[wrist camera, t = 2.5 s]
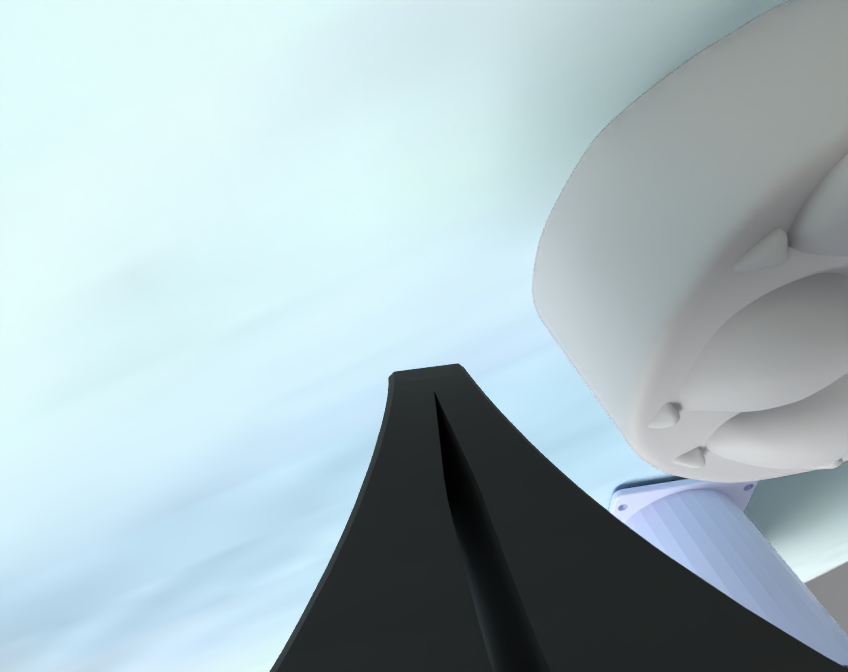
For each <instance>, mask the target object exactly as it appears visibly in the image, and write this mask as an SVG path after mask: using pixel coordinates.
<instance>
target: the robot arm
mask: <svg viewBox="0 0 848 672" xmlns="http://www.w3.org/2000/svg"><path fill="white" fill-rule="evenodd" d="M758 482H759V480H757V481H749V482H735V483H725V482H711V481H703V480H694V479H684V480H678V481H671V482H665V483H658V484H652V485H645V486H639V487H633V488H626V489H621V490H618V491H616V492H615V493H614V494H613V496H612V499H611V503H610V507H609V511H608V510H606V509H605V508H604V507H603V506H601V505H600V504H599V503H598V502H596V501H595V500H594V499H593V498H591V497H590V496H589V495H588V494H587V493H585V492H584V491H583V490H582V489H581V488H579V487H578V486H577V485H576V484H575V483H574V482H573V481H571V480H570V479H569V478H568V477H567V476H566V475H565V474H564V473H562V472H561V471H560V470H559V469H558V468H557V467H556V466H555V465H554V464H553V463H552V462H550V461H549V460H548V459H547V458H546V457H545V456H544V455H543V454H542V453H541V452H540V451H539V450H538V449H537V448H536V447H535V446H534V445H532V444H531V443H530V442H529V441H528V440H527V439H526V437H525V436H524V435H523V434H522V433H521V432H520V431H519V430H518V429H517V428H516V427H515V426H514V425H513V424H512V423H511V422H510V421H509V420H508V419H507V418H506V417H505V416H504V415H503V414H502V413H501V411H500V410H499V409H498V408H497V407H496V406H495V405H494V404H493V403H492V401H491V400H490V399H489V398H488V397H487V396H486V395H485V393H484V392H483V391H482V390H481V389H480V387H479V386H478V385H477V384H476V383H475V381H474V380H473V379H472V378H471V376H470V375H469V374H468V372H467V371H466V370H465V368H464V367H462V366H461V365H460V364H450V365H443V366H435V367H427V368H420V369H412V370H404V371H397V372H393V373H392V374H391V375H390V377H389V387H388V396H387V403H386V408H385V412H384V417H383V421H382V425H381V429H380V432H379V436H378V439H377V443H376V446H375V449H374V453H373V456H372V459H371V462H370V465H369V468H368V471H367V473H366V476H365V479H364V481H363V484H362V487H361V489H360V492H359V495H358V498H357V500H356V503H355V505H354V508H353V510H352V513H351V515H350V517H349V520H348V522H347V524H346V527H345V529H344V531H343V533H342V536H341V538H340V540H339V542H338V544H337V547H336V549H335V551H334V553H333V555H332V557H331V559H330V561H329V564H328V566H327V568H326V570H325V572H324V574H323V576H322V577H321V579H320V581H319V583H318V585H317V587H316V589H315V591H314V593H313V595H312V597H311V599H310V601H309V603H308V605H307V607H306V608H305V610H304V612H303V614H302V616H301V618H300V620H299V622H298V623H297V625H296V627H295V629H294V631H293V633H292V634H291V636H290V638H289V640H288V642H287V643H286V645H285V647H284V649H283V650H282V652H281V654H280V655H279V657H278V659H277V660H276V662H275V664H274V665H273V667H272V669H271V670H270V672H848V636H847V634H846V633H845V632H844V631H843V630H842V628H841V627H840V626H839V625H838V624H837V623H836V622H835V620H834V619H833V618H832V617H831V615H830V614H829V613H828V612H827V611H826V609H825V608H824V607H823V606H822V605H821V604H820V602H819V601H818V600H817V599H816V598H815V596H814V595H813V594H812V593H811V592H810V591H809V589H808V588H807V587H806V586H805V585H804V583H803V582H802V581H801V580H800V579H799V577H798V576H797V575H796V574H795V573H794V572H793V570H792V569H791V568H790V567H789V566H788V564H787V563H786V562H785V561H784V560H783V559H782V557H781V556H780V555H779V554H778V553H777V551H776V550H775V549H774V548H773V547H772V545H771V544H770V543H769V542H768V541H767V540H766V538H765V537H764V536H763V535H762V534H761V532H760V531H759V530H758V529H757V528H756V527H755V525H754V524H753V523H752V522H751V521H750V519H749V518H748V517H747V516H746V515H745V513H744V511H745V509H746V507H747V505H748V503H749V501H750V499H751V496H752V494H753V492H754V490H755V488H756V486H757V484H758Z"/></svg>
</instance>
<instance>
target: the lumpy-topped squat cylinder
mask: <svg viewBox="0 0 848 672" xmlns="http://www.w3.org/2000/svg"><path fill="white" fill-rule="evenodd" d="M532 293H533V301H534V306H535V309H536V311H537V314H538V316H539V318H540V319H541V321H542V322H543V324H544V325H545V327H546V328H547V329H548V331H549V332H550V334H551V335H552V337H553V338H554V339H555V341H556V342H557V344H558V345H559V347H560V348H561V349H562V351H563V352H564V354H565V355H566V357H567V358H568V359H569V361H570V362H571V364H572V365H573V367H574V368H575V369H576V371H577V372H578V374H579V375H580V377H581V378H582V379H583V381H584V382H585V383H586V385H587V386H588V387H589V389H590V390H591V392H592V393H593V394H594V396H595V397H596V399H597V400H598V402H599V403H600V404H601V406H602V407H603V409H604V410H605V411H606V413H607V414H608V416H609V417H610V419H611V420H612V421H613V423H614V424H615V425H616V427H617V428H618V430H619V431H620V433H621V434H622V435H623V437H624V438H625V440H626V442H627V443H628V445H629V446H630V447H631V448H632V450H633V451H634V452H635V453H636V454H637V455H638V456H639V457H640V458H641V459H642V460H644V461H645V462H646V463H648V464H650V465H651V466H653V467H655V468H657V469H658V470H660V471H663V472H665V473H669V474H672V475H675V476H679V477H684V478H689V479H694V480H703V481H711V482H725V483H735V482H749V481H757V480H765V479H771V478H778V477H783V476H787V475H793V474H798V473H803V472H808V471H813V470H818V469H834V468H837V467H839V466H840V465H841V464H842V462H845V461H847V460H848V0H790V1H787V2H785V3H783V4H780V5H778V6H776V7H774V8H772V9H770V10H768V11H767V12H765V13H763V14H761V15H759V16H758V17H756V18H754V19H753V20H751V21H749V22H748V23H746V24H745V25H743V26H741V27H740V28H738V29H737V30H735V31H733V32H732V33H730V34H729V35H727V36H725V37H724V38H722V39H720V40H719V41H717V42H715V43H714V44H712V45H711V46H709V47H707V48H706V49H704V50H703V51H701V52H700V53H698V54H697V55H695V56H694V57H692V58H691V59H690V60H688V61H687V62H685V63H684V64H683V65H681V66H680V67H678V68H677V69H676V70H674V71H673V72H672V73H670V74H669V75H668V76H666V77H665V78H664V79H662V80H661V81H660V82H658V83H657V84H656V85H654V86H653V87H652V88H651V89H649V90H648V91H647V92H646V93H644V94H643V95H642V96H641V97H639V98H638V99H637V100H636V101H634V102H633V103H632V104H631V105H630V106H628V107H627V108H626V109H625V110H624V111H623V112H621V113H620V114H619V115H618V116H617V117H616V118H615V119H614V120H613V121H611V122H610V123H609V124H608V125H607V126H606V127H605V128H604V129H603V130H602V131H601V132H600V134H599V135H598V136H597V137H596V138H595V139H594V141H593V142H592V143H591V145H590V146H589V147H588V149H587V150H586V152H585V153H584V155H583V156H582V158H581V160H580V161H579V163H578V164H577V166H576V168H575V169H574V171H573V173H572V174H571V176H570V178H569V180H568V181H567V183H566V185H565V187H564V188H563V190H562V192H561V194H560V196H559V197H558V199H557V201H556V203H555V205H554V207H553V209H552V211H551V213H550V215H549V217H548V219H547V222H546V224H545V226H544V229H543V232H542V234H541V237H540V241H539V245H538V249H537V253H536V258H535V264H534V271H533V282H532Z"/></svg>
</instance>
